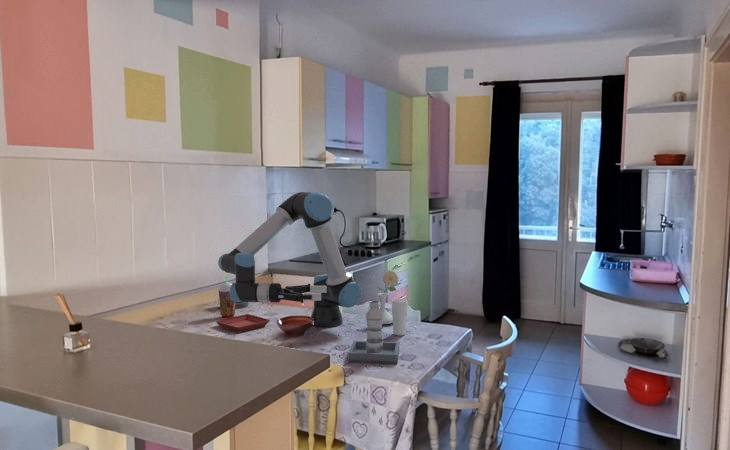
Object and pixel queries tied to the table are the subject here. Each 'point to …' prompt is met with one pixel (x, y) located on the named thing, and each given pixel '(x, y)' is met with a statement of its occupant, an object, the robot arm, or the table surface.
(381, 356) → the tray
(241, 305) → the can
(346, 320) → the table surface
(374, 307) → the silver metal bottle
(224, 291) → the smoothie
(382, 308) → the flower in vase
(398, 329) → the drinking glass
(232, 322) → the plant saucer
